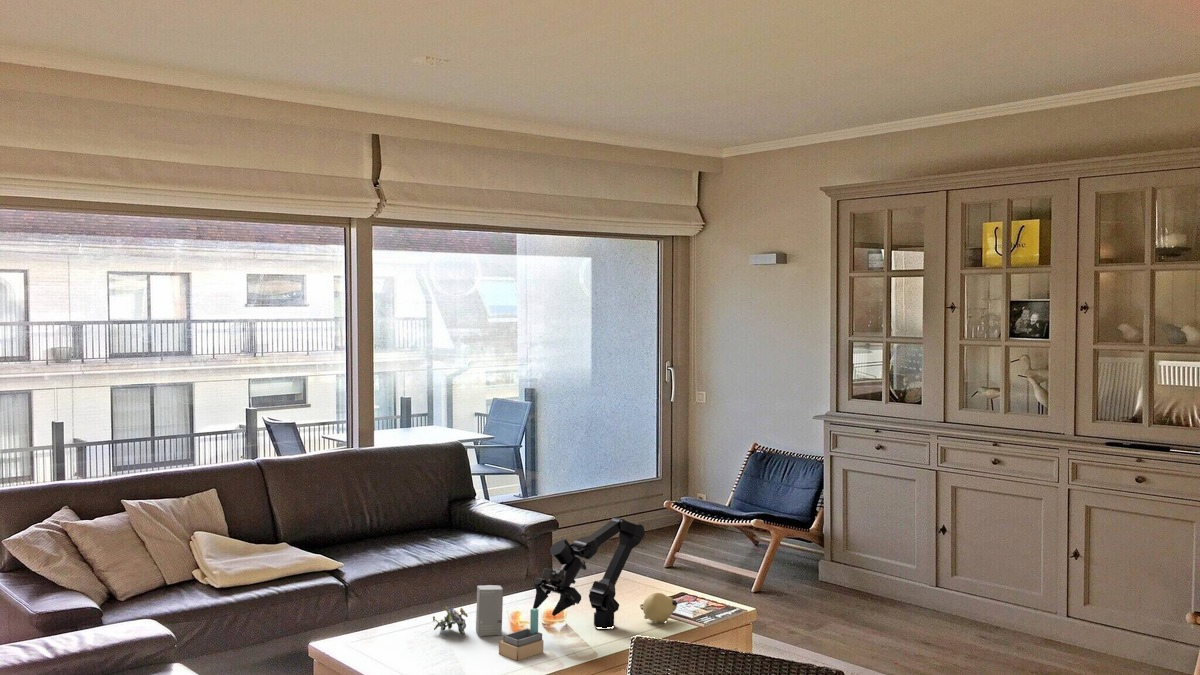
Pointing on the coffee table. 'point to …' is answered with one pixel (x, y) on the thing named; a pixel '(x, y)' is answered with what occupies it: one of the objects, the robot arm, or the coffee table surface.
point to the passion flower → (452, 620)
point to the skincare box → (489, 610)
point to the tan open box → (520, 650)
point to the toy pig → (658, 607)
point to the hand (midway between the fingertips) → (543, 612)
